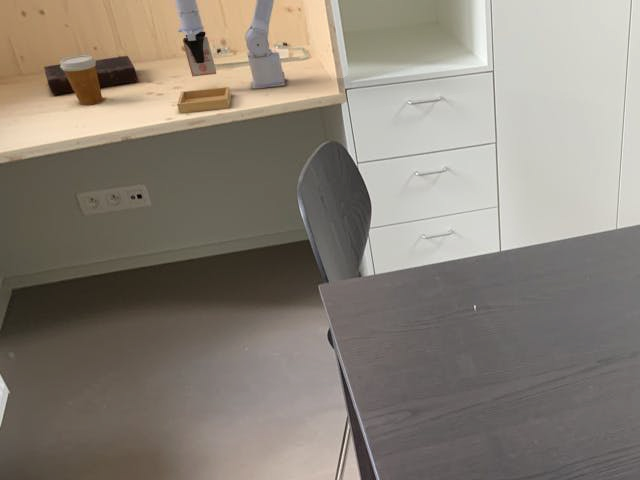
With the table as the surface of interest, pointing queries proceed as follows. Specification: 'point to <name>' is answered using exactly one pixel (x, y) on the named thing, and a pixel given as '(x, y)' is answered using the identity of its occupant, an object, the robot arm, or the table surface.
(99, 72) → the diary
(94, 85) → the disposable coffee cup
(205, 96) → the tray
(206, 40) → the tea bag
